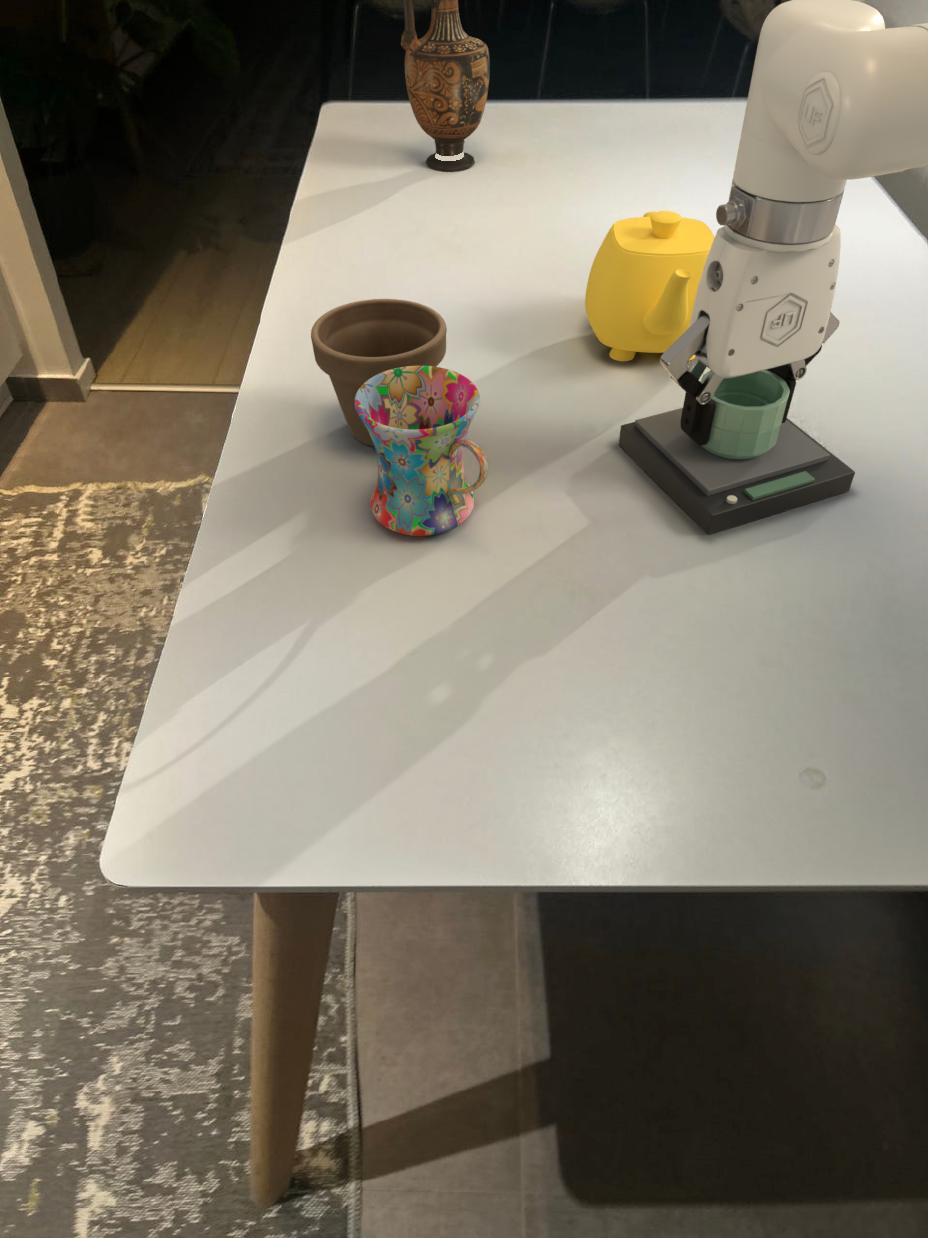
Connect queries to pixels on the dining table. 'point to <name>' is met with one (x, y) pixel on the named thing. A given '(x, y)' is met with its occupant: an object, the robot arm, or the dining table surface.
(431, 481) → the mug
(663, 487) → the scale
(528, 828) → the dining table surface
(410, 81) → the vase
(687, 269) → the teapot
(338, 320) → the flower pot
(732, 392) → the bowl
